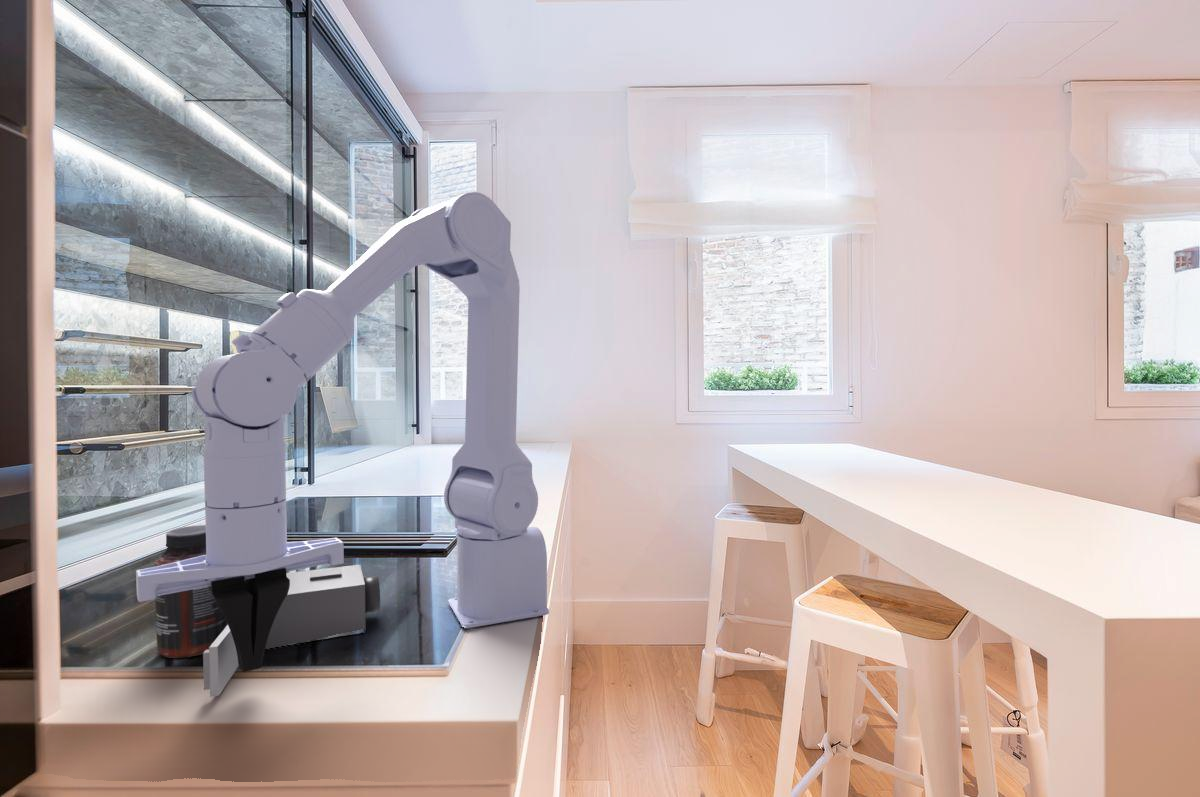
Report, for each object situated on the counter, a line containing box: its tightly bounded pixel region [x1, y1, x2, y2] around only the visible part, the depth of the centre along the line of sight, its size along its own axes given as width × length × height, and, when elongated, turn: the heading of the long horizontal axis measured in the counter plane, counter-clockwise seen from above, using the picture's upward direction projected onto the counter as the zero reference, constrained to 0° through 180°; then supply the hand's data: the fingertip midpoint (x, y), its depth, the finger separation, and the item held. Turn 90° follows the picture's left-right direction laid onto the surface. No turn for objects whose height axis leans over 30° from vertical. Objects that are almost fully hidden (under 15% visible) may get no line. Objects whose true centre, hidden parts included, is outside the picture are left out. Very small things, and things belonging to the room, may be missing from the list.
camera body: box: [265, 564, 381, 650], centre depth 63 cm, size 13×7×6 cm, turn 115°
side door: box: [202, 625, 240, 698], centre depth 53 cm, size 8×1×4 cm, turn 15°
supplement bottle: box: [154, 524, 228, 659], centre depth 59 cm, size 6×6×11 cm
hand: (250, 665), depth 51 cm, fingers closed
